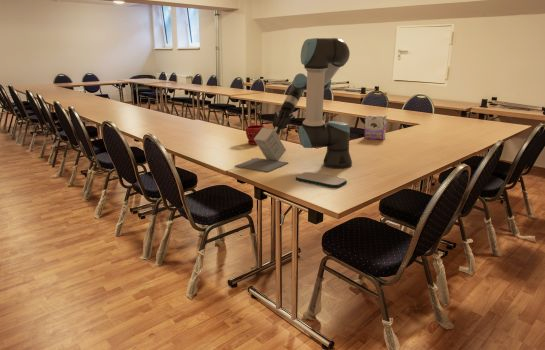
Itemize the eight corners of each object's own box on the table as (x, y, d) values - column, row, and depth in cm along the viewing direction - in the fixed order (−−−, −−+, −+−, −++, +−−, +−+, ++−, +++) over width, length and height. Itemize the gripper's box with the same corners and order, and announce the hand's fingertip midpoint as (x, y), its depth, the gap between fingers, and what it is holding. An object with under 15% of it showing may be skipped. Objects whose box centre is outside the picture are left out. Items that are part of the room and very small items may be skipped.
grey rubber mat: (288, 163, 211) (288, 162, 211) (268, 172, 196) (268, 171, 195) (256, 158, 223) (256, 157, 223) (234, 166, 207) (234, 165, 207)
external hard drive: (293, 181, 182) (293, 177, 182) (306, 175, 191) (306, 171, 190) (336, 190, 168) (336, 185, 168) (349, 183, 177) (349, 179, 176)
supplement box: (286, 150, 220) (274, 128, 209) (278, 161, 216) (265, 140, 205) (274, 147, 226) (262, 127, 215) (265, 159, 222) (253, 138, 211)
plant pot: (252, 141, 272) (251, 124, 269) (268, 142, 266) (268, 125, 263) (242, 144, 261) (241, 127, 258) (259, 146, 255) (258, 128, 252)
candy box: (385, 138, 268) (387, 115, 264) (383, 140, 264) (384, 116, 259) (366, 137, 275) (367, 114, 271) (363, 138, 271) (364, 115, 266)
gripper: (301, 110, 225) (285, 142, 217) (282, 108, 232) (266, 139, 224) (296, 101, 219) (279, 134, 211) (277, 100, 227) (261, 132, 219)
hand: (273, 137), depth 218 cm, fingers closed
